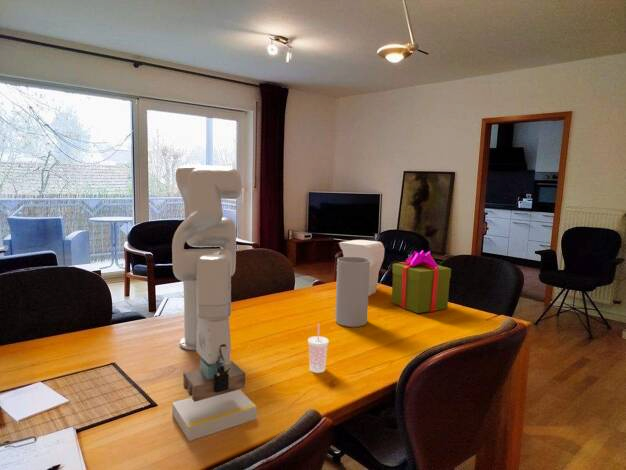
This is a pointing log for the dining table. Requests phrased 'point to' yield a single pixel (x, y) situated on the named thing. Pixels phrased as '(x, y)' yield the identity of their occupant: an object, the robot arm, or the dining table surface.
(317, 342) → the beverage cup
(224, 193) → the robot arm
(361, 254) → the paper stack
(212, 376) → the teal block
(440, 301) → the gift box
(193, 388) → the pallet
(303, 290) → the dining table surface
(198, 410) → the block
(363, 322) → the cylinder vase
